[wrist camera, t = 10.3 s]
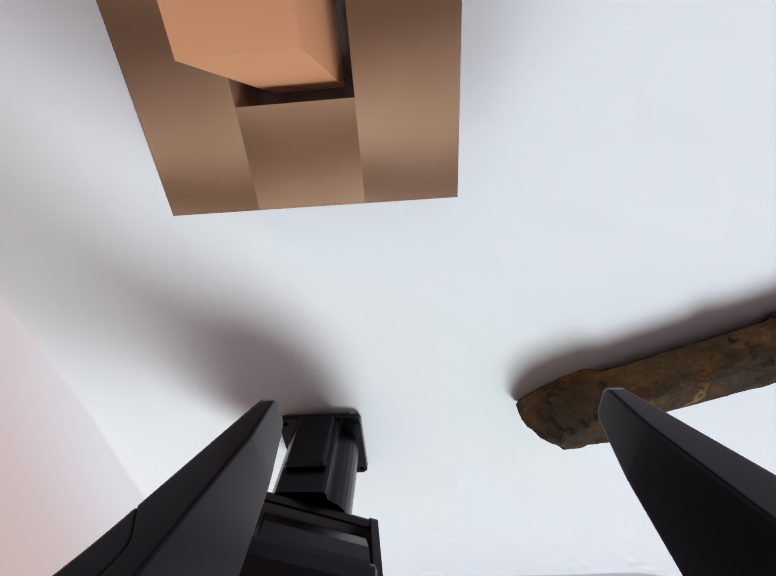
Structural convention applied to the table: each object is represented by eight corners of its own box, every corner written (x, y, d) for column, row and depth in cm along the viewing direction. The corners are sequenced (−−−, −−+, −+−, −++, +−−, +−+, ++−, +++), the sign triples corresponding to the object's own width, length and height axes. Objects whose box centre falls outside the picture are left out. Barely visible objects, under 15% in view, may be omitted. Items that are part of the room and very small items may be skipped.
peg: (344, 86, 16) (301, 48, 9) (273, 93, 16) (174, 60, 9) (333, -7, 14) (270, -147, 7) (256, 1, 15) (119, -127, 7)
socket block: (448, 187, 18) (457, 196, 15) (206, 204, 19) (173, 215, 16) (452, -204, 12) (468, -304, 9) (94, -156, 13) (11, -235, 10)
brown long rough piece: (802, 289, 20) (907, 329, 16) (795, 339, 22) (889, 387, 18) (505, 372, 24) (528, 422, 20) (517, 410, 25) (540, 463, 21)
